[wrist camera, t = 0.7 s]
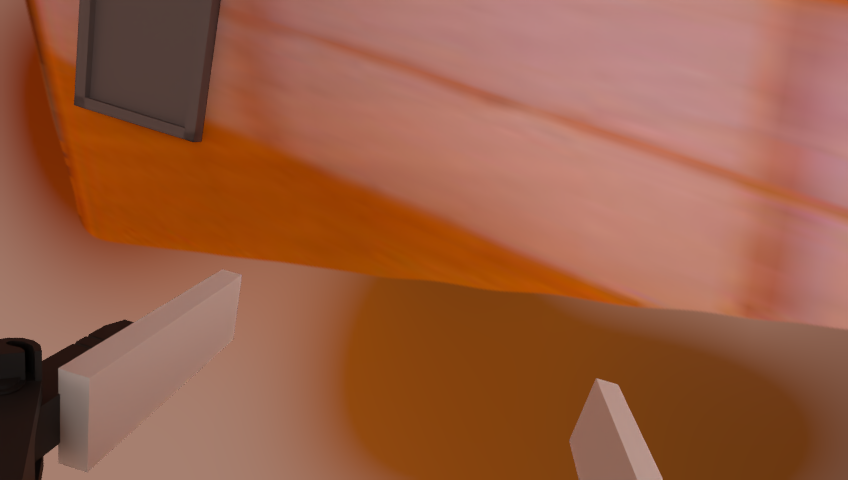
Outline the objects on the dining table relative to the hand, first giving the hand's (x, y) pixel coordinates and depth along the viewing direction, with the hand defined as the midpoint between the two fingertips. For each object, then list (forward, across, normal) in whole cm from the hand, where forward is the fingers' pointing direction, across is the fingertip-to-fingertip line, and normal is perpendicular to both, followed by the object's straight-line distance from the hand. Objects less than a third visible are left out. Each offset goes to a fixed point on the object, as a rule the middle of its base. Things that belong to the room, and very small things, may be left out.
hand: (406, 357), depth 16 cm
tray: (+27, -31, +8) cm, 41 cm away
